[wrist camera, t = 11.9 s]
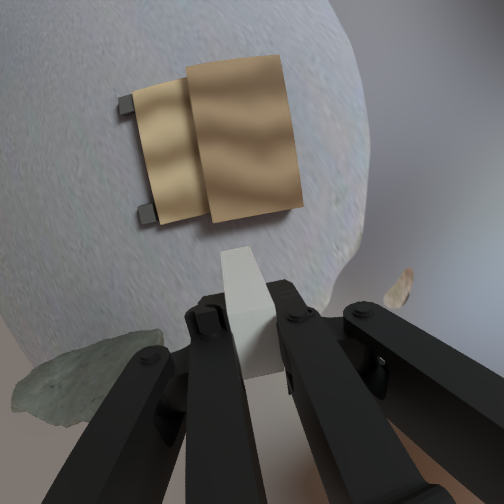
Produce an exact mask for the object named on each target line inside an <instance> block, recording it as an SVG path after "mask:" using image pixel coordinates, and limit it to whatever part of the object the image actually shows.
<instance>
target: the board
mask: <svg viewBox="0 0 504 504" xmlns="http://www.w3.org/2000/svg"><path fill="white" fill-rule="evenodd" d="M186 73H187V80H188V86H189V93H190V99H191V105H192V111H193V117H194V123H195V129H196V135H197V140H198V146H199V152H200V157H201V163H202V168H203V174H204V179H205V185H206V190H207V195H208V201H209V206H210V211H211V216H212V221H213V223H218V222H223V221H228V220H233V219H239V218H244V217H249V216H255V215H260V214H266V213H271V212H277V211H283V210H288V209H294V208H300V207H304V205H303V197H302V189H301V182H300V174H299V167H298V160H297V154H296V147H295V140H294V134H293V128H292V122H291V116H290V110H289V104H288V98H287V93H286V87H285V82H284V76H283V71H282V66H281V61H280V56H279V55H268V56H257V57H247V58H238V59H230V60H223V61H216V62H210V63H204V64H198V65H193V66H188V67H186Z"/></svg>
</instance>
